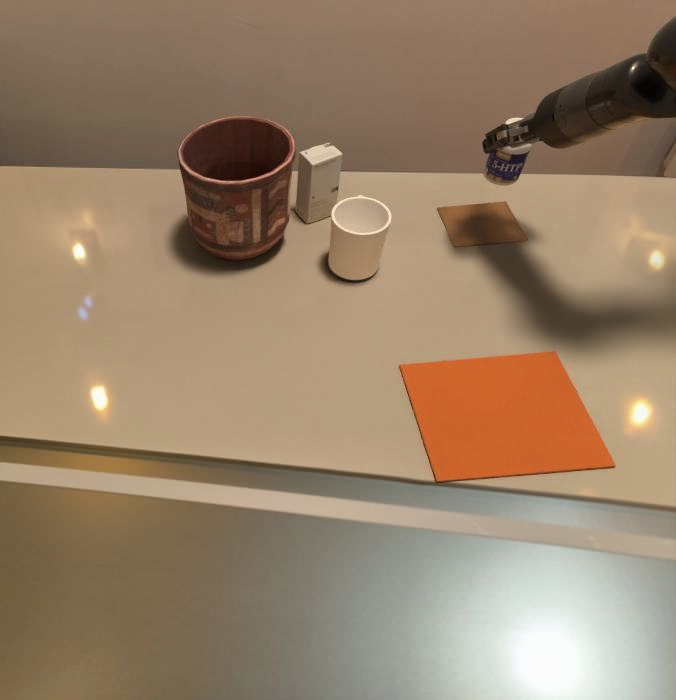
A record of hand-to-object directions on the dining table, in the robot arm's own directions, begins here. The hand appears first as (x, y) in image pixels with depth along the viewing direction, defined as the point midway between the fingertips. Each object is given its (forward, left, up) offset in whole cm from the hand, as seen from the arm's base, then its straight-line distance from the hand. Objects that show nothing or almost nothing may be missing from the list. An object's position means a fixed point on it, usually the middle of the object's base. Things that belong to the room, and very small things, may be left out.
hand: (503, 143), depth 92 cm
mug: (+23, +7, -15) cm, 28 cm away
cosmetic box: (+27, -6, -15) cm, 31 cm away
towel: (+10, +38, -15) cm, 42 cm away
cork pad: (0, +1, -15) cm, 15 cm away
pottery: (+41, -1, -15) cm, 43 cm away
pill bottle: (0, +2, -5) cm, 5 cm away
